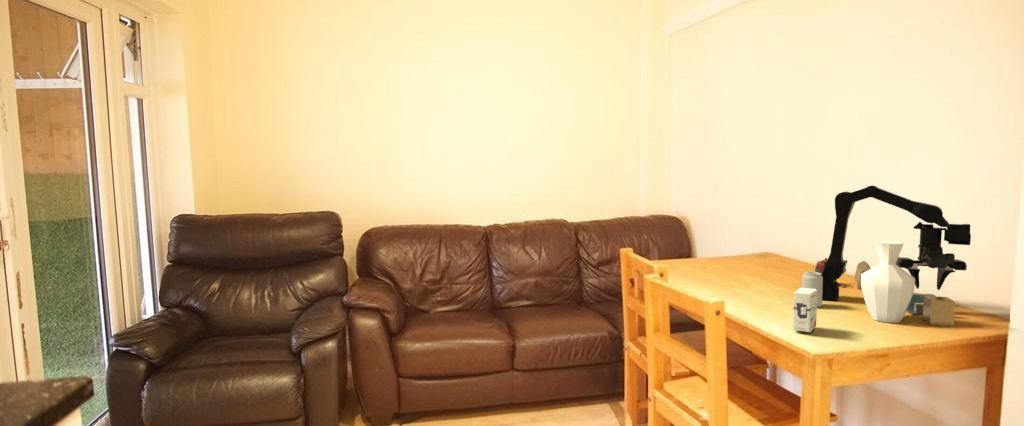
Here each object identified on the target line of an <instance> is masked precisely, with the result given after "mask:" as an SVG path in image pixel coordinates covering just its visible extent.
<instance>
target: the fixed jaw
mask: <svg viewBox="0 0 1024 426" xmlns="http://www.w3.org/2000/svg"><path fill="white" fill-rule="evenodd" d="M923 306H924V303H914V313H916V314H923Z"/></svg>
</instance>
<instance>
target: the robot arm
mask: <svg viewBox="0 0 1024 426" xmlns="http://www.w3.org/2000/svg"><path fill="white" fill-rule="evenodd" d="M869 198H873V199H875V200H878V201H880V202H883V203H886V204H888V205H890V206H891V205H892V206H894V207H896V208H897V209H898V208H899V209H901V210H903V211H907V212H908V213H910V214H911V215H913V216H915V217H916V218H918V219H920V220H922V221H924V222H926V223H922V222H921V221H918V223H917V224H915V225H914V226H913V229H914V230H919V231H920V233H919V244H918V245H917V247H918V250H919V251H918V256H917V260H916V259H912V258H910V257H904V256H903V257H900V256H899V257H898V259H897V262H896V265H897V266H899V267H900V268H902V269H904V270H905V269H906V270H907V271H908V272H909V274H910V275H911V276H913V277H914V278H915V288H916V289H917V290H919V288H920V271H921V269H920V268H919V267H929V268H930V269H937V273H936V289H937V290H938V291H939V290H941V288H942V286H943V285H944V282H945V280H946V279H947V277H948V276H949V275H950V274H951V273H956V271H967V263H966V262H965V261H963V260H961V259H955V256H956V255H955V254H954V253H951V252H949V253H948V252H947V253H944V252H943V246H942V234H943V231H944V234H943V241H946V242H947V244H948V245H958V246H959V245H961V246H971V237H972V235H971V224H970V223H962V224H960V223H959V224H957V223H949V221H948V220H947V219H946V218H945V217H944V216H943V214H944V213H943V210H942V208H941V207H940V206H938V205H936V204H931V203H926V202H919V201H915V200H911V199H909V198H906V197H904V196H901V195H899V194H895V193H893V192H890V191H887V190H885V189H882V188H879V187H878V186H876V185H868V186H867V187H864V188H862V189H857V190H855V191H843V192H839V193H838V194H836V196H835V198H834V209H835V222H834V228H833V234H832V241H831V247H830V253H829V255H828V258H827V262H826V265H825V267H824V270H823V273H821V274H822V277H823V288H822V301H839V298H840V286H838V283H839V282H838V279H840V278H841V277H842V276H843V274H845V273H846V272H847V269H846V267H847V264H848V260H847V259H845V260H844V255H843V254H844V248H845V243H846V242H845V241H846V238H847V237H846V236H847V230H848V226H849V225H848V224H849V219H850V216H851V214H852V211H853V210H854V209H853V208H854V206H855V203H857V202H859V201H862V200H865V199H869ZM927 223H928V224H927ZM934 224H935V225H937V226H939V227H936V226H935V227H934ZM835 281H837V282H838V283H837V282H835Z"/></svg>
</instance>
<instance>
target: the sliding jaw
mask: <svg viewBox="0 0 1024 426" xmlns="http://www.w3.org/2000/svg"><path fill="white" fill-rule="evenodd" d="M924 296H936V295H935V294H933V293H918V292H917V293H916V292H915V293H914V292H913V296H912V298H911V301H910V303H909V304H914V303H924Z"/></svg>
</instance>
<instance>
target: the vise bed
mask: <svg viewBox="0 0 1024 426" xmlns="http://www.w3.org/2000/svg"><path fill="white" fill-rule="evenodd" d="M906 313H908V314H910V315H911V316H913V317H916V316H917V317H923V314H916V313H914V304H909V305H908V308H907V310H906Z"/></svg>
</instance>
